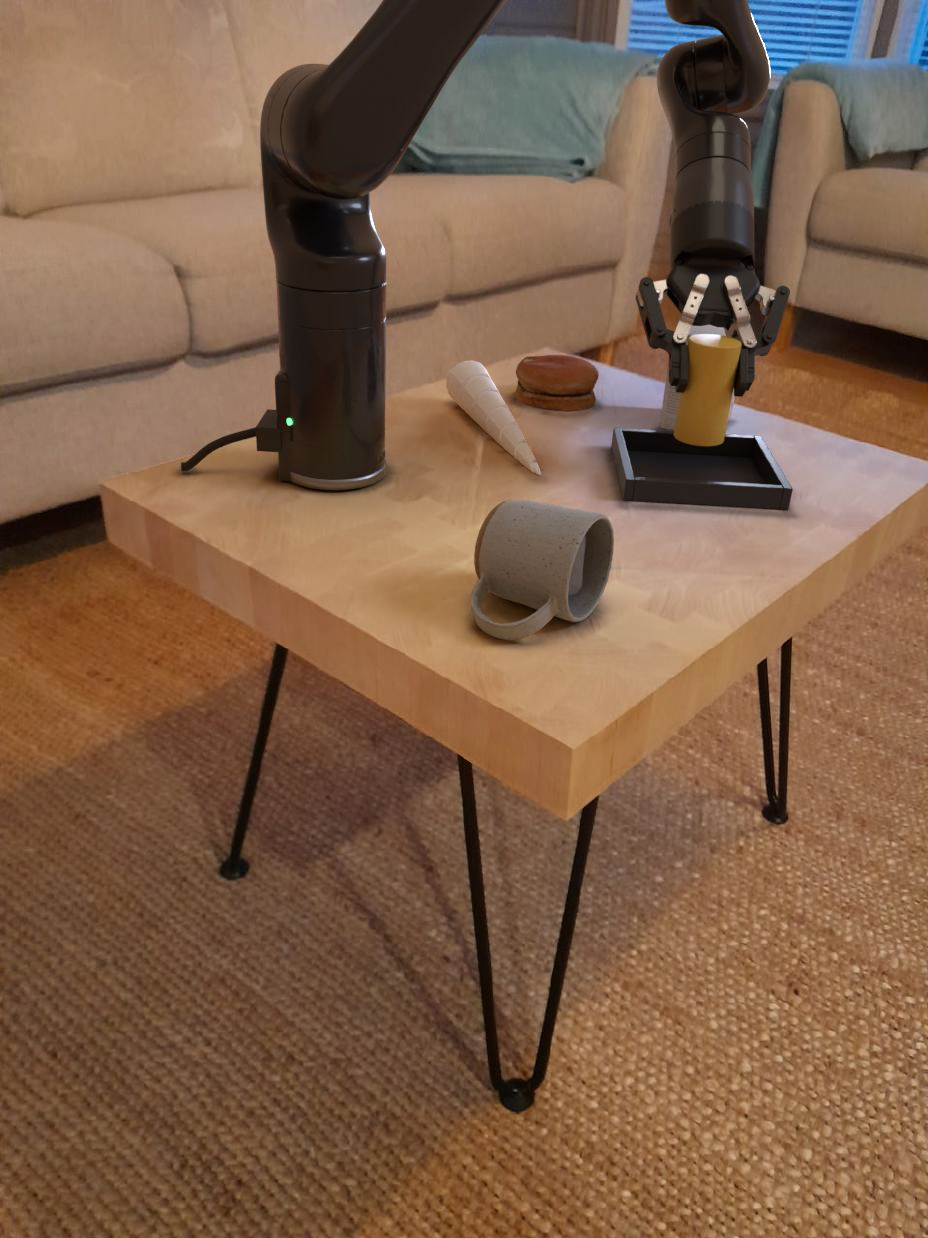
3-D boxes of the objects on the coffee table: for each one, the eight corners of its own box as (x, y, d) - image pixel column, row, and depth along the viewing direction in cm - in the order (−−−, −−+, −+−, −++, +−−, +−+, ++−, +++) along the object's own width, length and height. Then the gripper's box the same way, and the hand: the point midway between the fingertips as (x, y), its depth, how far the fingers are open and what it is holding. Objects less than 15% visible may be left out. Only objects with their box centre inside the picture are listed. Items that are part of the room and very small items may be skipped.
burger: (599, 416, 113) (603, 374, 111) (513, 412, 113) (516, 370, 111) (593, 389, 122) (597, 350, 120) (513, 385, 122) (516, 346, 120)
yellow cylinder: (676, 444, 94) (692, 345, 90) (670, 427, 98) (685, 332, 94) (727, 448, 94) (746, 348, 90) (719, 431, 98) (736, 335, 94)
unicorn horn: (500, 482, 96) (503, 432, 93) (444, 401, 116) (445, 358, 113) (549, 480, 97) (554, 430, 94) (485, 400, 117) (487, 357, 114)
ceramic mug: (513, 567, 81) (519, 474, 77) (610, 596, 77) (622, 501, 73) (441, 625, 73) (444, 525, 69) (546, 661, 69) (554, 558, 65)
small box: (683, 411, 116) (697, 316, 111) (731, 421, 114) (749, 324, 109) (656, 430, 110) (670, 330, 105) (707, 442, 108) (724, 340, 103)
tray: (622, 505, 92) (625, 479, 91) (610, 451, 104) (613, 427, 103) (787, 515, 92) (793, 488, 91) (756, 459, 104) (761, 435, 103)
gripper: (641, 192, 93) (637, 364, 88) (802, 202, 93) (806, 374, 88) (628, 244, 100) (624, 405, 96) (777, 253, 100) (780, 415, 96)
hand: (711, 389), depth 92 cm, fingers closed on yellow cylinder, 4 cm apart
